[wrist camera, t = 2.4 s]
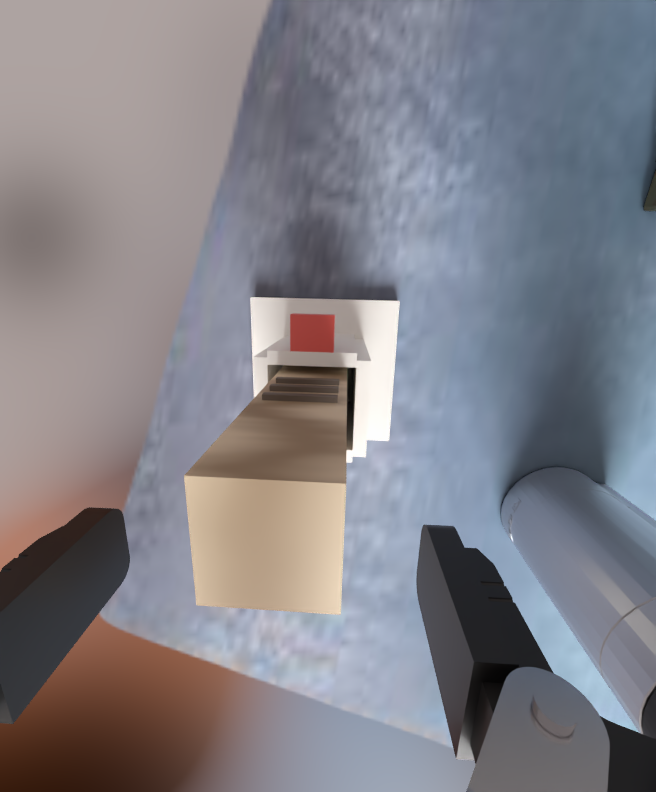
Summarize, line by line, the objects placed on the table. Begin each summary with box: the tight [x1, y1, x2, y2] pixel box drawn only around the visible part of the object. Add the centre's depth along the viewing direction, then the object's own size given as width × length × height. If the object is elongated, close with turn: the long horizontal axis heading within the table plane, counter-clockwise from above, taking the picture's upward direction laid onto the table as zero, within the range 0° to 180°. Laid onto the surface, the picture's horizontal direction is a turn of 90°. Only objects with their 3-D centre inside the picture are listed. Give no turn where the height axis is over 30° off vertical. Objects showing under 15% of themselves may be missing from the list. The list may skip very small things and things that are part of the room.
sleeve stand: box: [250, 297, 400, 463], centre depth 26 cm, size 12×12×12 cm
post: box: [184, 365, 348, 615], centre depth 20 cm, size 4×4×22 cm
